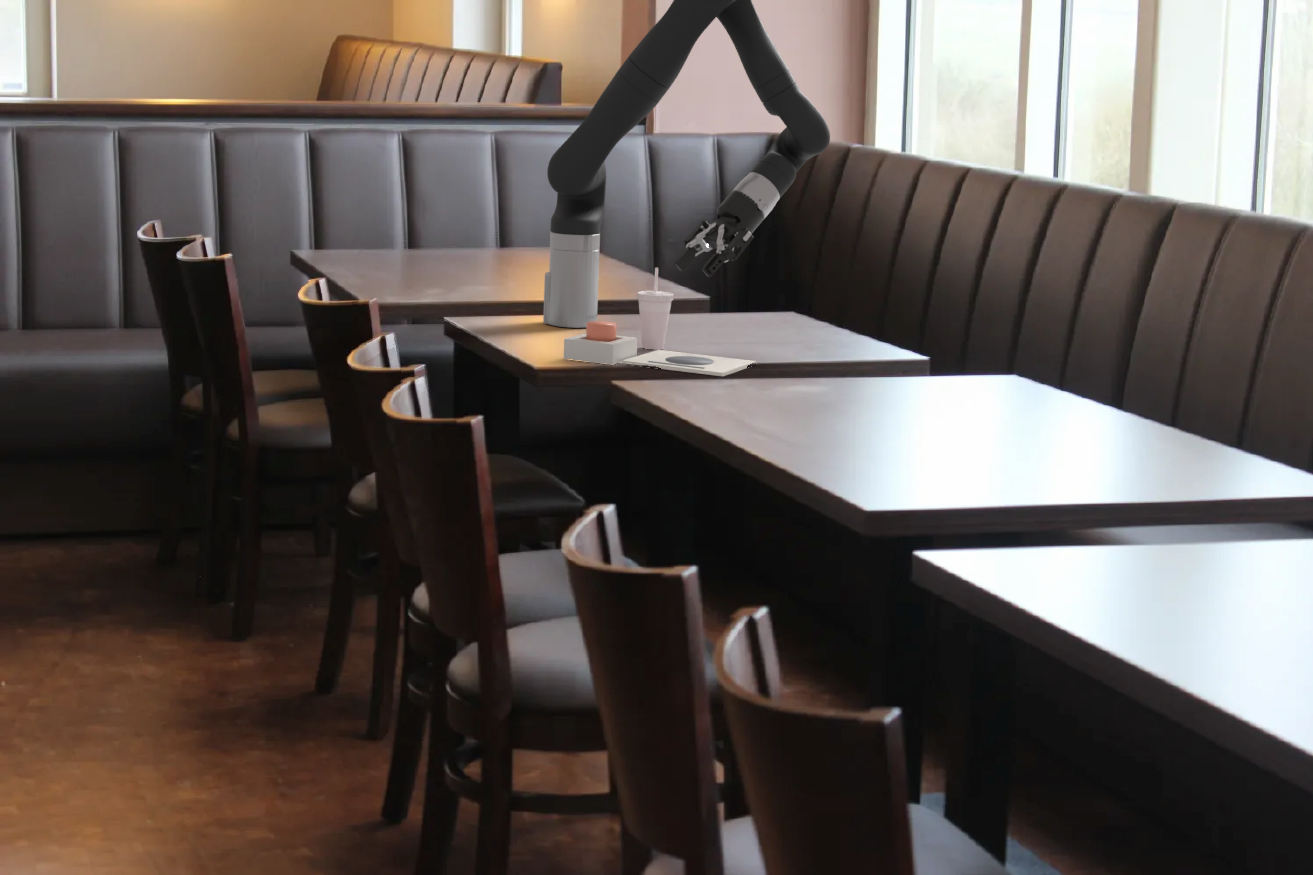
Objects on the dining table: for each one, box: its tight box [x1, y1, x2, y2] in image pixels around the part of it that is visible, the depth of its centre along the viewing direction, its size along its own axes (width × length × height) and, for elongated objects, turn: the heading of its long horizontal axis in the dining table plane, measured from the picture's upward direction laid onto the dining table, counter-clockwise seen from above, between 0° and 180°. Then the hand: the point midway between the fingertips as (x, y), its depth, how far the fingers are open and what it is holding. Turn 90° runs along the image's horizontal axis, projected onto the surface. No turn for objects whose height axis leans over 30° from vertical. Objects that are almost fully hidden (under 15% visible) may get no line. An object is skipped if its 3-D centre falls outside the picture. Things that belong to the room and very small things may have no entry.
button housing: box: [563, 332, 638, 364], centre depth 283 cm, size 9×9×4 cm
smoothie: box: [636, 267, 674, 351], centre depth 295 cm, size 6×6×14 cm
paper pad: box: [622, 349, 757, 377], centre depth 282 cm, size 18×14×1 cm
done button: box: [585, 320, 618, 342], centre depth 282 cm, size 5×5×4 cm
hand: (691, 270), depth 298 cm, fingers open, 8 cm apart
